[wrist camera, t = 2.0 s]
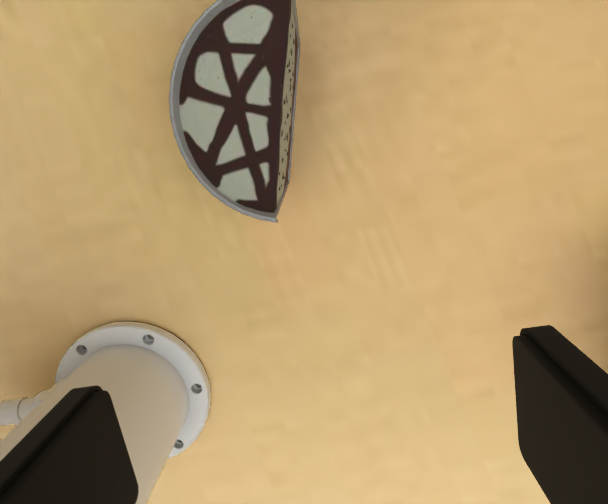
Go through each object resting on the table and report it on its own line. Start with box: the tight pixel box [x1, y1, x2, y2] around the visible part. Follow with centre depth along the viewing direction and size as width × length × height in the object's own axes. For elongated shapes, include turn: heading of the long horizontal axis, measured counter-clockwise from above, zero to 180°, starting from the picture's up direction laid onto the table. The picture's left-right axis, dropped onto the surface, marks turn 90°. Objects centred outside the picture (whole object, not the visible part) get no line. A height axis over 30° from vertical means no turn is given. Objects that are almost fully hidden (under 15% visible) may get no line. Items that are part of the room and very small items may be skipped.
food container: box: [169, 0, 300, 223], centre depth 27 cm, size 12×6×10 cm, turn 175°
